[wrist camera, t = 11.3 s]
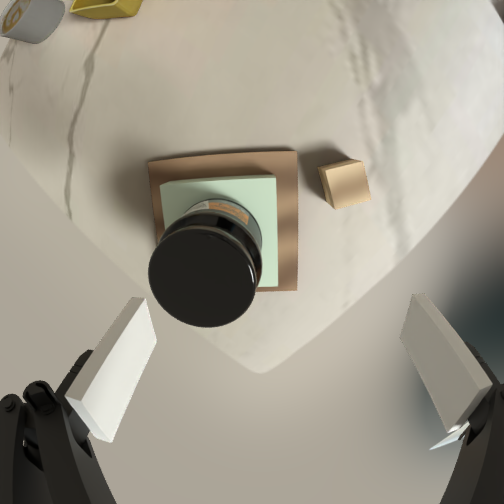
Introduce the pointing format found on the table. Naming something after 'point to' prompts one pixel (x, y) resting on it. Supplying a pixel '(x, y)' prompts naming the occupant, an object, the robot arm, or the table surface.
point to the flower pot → (105, 8)
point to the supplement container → (208, 264)
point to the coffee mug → (31, 19)
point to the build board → (243, 165)
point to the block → (344, 183)
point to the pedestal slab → (239, 190)
